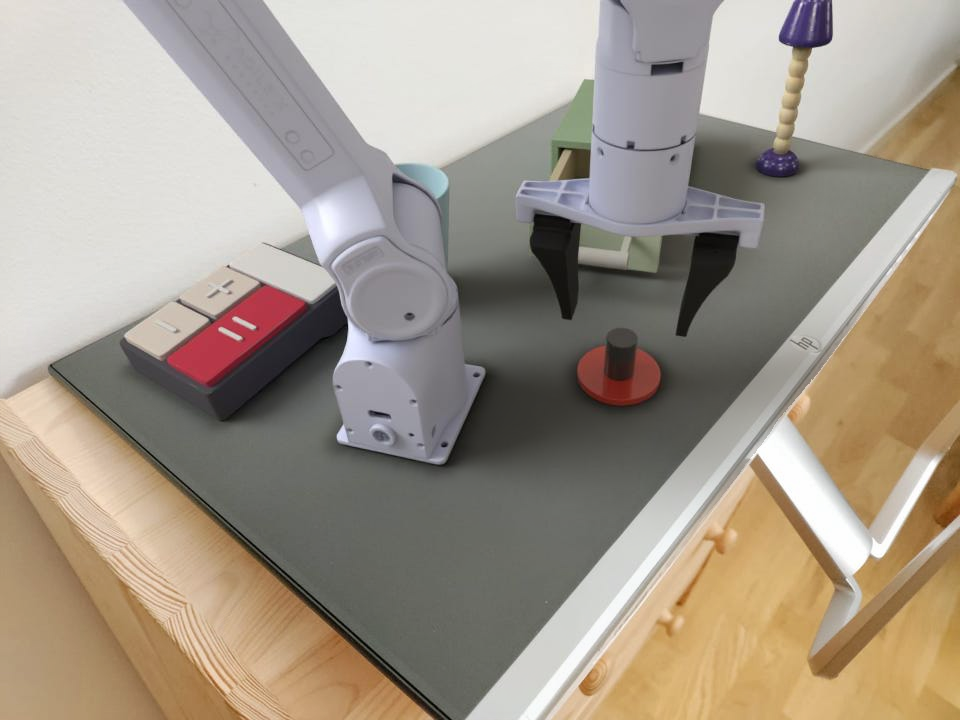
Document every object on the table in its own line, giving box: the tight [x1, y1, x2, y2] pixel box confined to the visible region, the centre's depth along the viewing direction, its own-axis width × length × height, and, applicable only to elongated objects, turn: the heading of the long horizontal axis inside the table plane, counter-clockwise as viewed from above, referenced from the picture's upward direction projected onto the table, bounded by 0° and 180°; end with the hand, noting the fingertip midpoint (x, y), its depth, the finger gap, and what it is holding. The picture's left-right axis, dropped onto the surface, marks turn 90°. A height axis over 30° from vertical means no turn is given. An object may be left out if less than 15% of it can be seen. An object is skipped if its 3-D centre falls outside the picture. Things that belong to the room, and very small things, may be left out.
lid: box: [576, 327, 662, 407], centre depth 51 cm, size 6×6×4 cm
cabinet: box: [550, 78, 594, 176], centre depth 73 cm, size 15×12×7 cm
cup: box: [394, 162, 451, 275], centre depth 58 cm, size 8×8×10 cm
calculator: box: [118, 242, 348, 421], centre depth 56 cm, size 11×4×15 cm
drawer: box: [528, 148, 663, 274], centre depth 63 cm, size 19×11×5 cm, turn 162°
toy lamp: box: [755, 0, 834, 177], centre depth 69 cm, size 5×5×17 cm
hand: (624, 318), depth 48 cm, fingers open, 7 cm apart
